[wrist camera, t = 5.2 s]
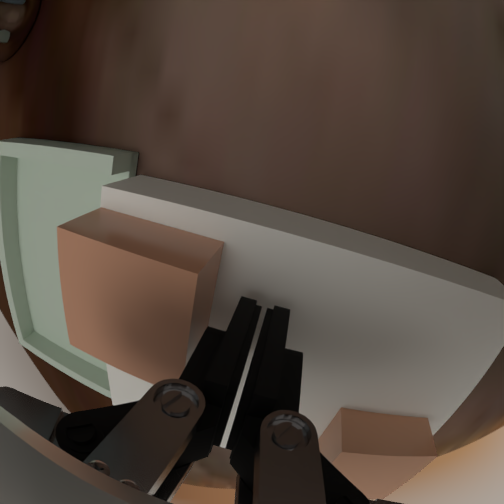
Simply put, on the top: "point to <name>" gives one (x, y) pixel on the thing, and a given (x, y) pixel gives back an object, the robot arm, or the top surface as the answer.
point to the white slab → (334, 304)
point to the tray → (50, 238)
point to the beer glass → (15, 24)
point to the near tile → (136, 291)
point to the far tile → (377, 449)
